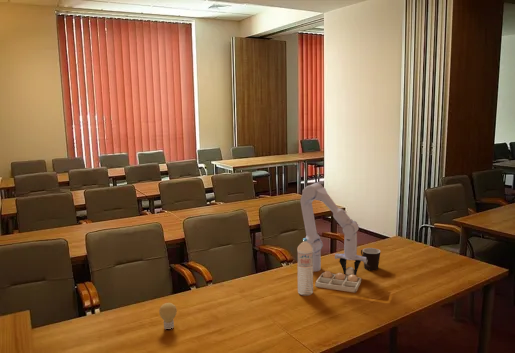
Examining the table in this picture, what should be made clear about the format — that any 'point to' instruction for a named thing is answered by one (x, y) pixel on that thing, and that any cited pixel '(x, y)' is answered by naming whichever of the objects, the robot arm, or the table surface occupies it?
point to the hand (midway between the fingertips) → (350, 274)
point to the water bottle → (305, 268)
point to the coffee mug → (371, 258)
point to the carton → (338, 281)
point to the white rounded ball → (350, 271)
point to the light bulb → (168, 314)
